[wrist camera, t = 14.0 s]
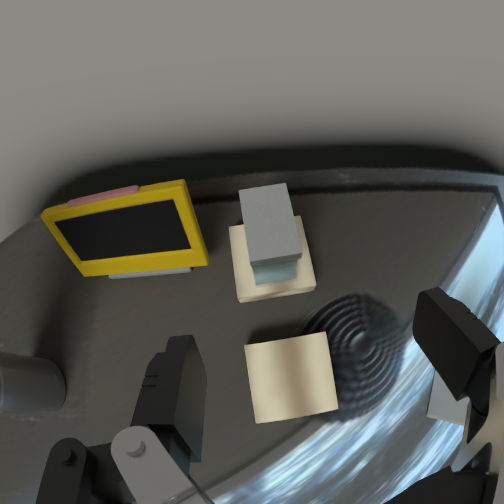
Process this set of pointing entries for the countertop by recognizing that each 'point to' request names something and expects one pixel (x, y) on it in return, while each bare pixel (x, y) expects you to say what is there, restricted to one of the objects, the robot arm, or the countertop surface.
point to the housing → (270, 234)
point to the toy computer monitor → (130, 231)
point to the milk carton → (446, 403)
